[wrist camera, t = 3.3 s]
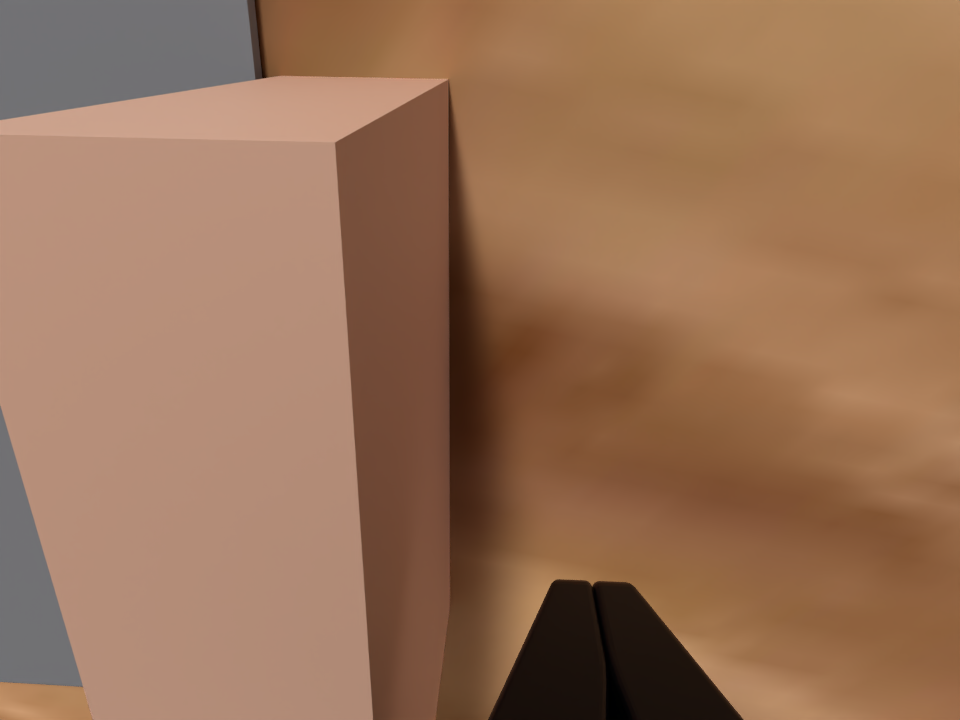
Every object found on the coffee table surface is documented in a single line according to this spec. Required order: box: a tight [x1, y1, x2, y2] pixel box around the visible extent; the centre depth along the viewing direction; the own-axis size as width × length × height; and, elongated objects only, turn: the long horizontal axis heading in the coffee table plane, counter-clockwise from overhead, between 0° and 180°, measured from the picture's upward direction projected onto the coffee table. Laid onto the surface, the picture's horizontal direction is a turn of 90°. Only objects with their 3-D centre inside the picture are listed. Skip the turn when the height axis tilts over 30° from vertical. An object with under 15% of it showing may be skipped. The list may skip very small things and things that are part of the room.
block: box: [0, 76, 450, 720], centre depth 9 cm, size 2×10×7 cm, turn 179°
